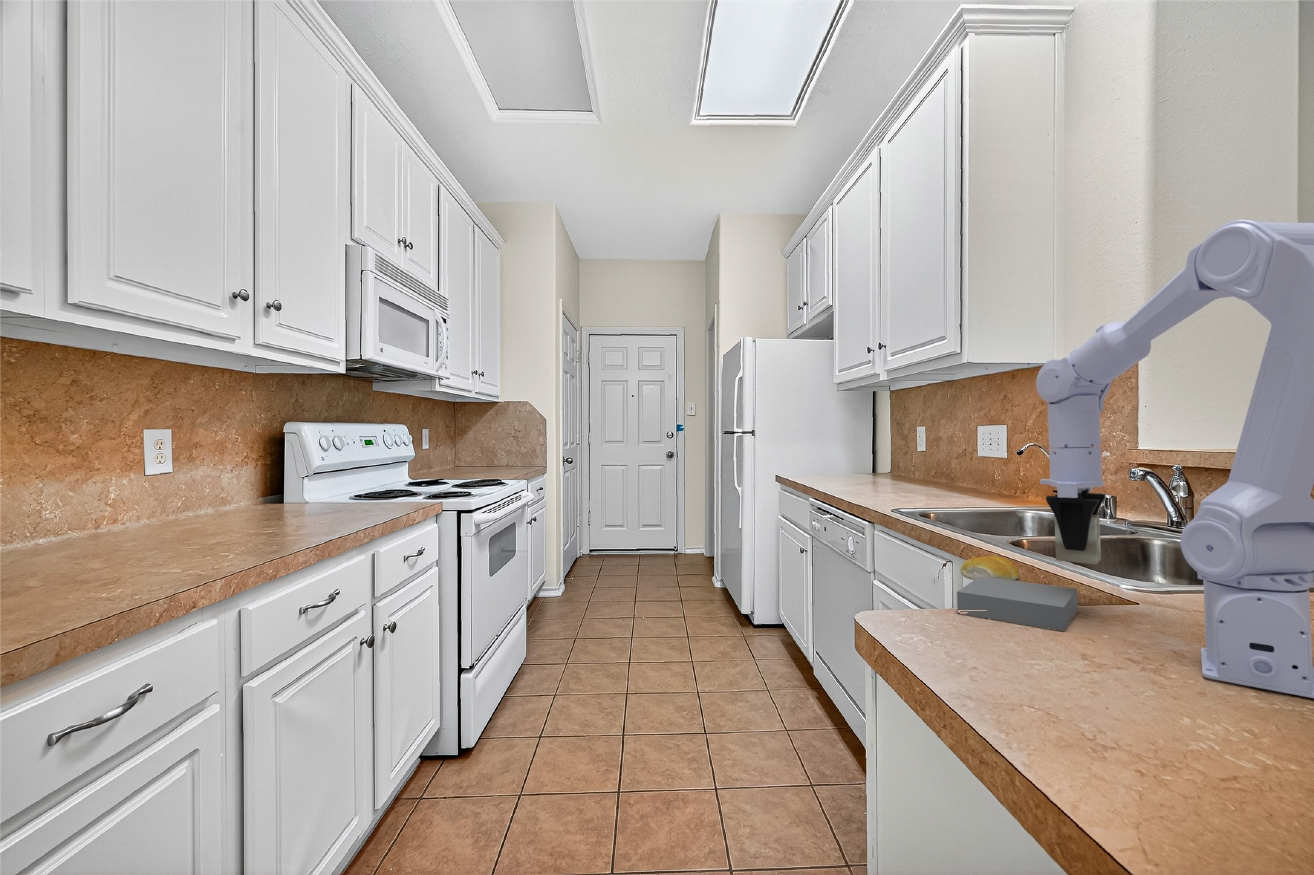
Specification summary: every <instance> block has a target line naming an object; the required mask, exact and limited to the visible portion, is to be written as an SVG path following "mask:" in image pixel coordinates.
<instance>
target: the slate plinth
mask: <svg viewBox="0 0 1314 875" xmlns="http://www.w3.org/2000/svg"><path fill="white" fill-rule="evenodd" d="M1078 596H1079V595H1078V588H1077V587H1076V588H1075V587H1067V586H1066V587H1065V586H1058V585H1051V584H1050V585H1049V584H1044V583H1043V584H1042V583H1035V582H1026V581H1020V580H1019V581H1018V580H1004V579H996V578H988V577H979V578H977V579H975V580H972V581H971V582H970V583H968V584H966V585H965V586H964V587H962V588H960V589H959V590H957V591H956V606H957V608H956V609H957V611H958V610H987V611H960V612H968V613H966V614H964V615H963V616H968V615H969V616H970V617H975V618H980V617H982V618H981V619H986V618H990V619H989V620H992V619H995V620H994V621H998V620H1002V621H1001V622H1004V621H1006V622H1005V623H1009V622H1013V623H1012V624H1015V623H1018V624H1017V625H1021V624H1022V625H1021V626H1027V625H1028V627H1033V626H1036V627H1035V628H1039V627H1041V628H1040V629H1045V628H1049V629H1048V630H1050V629H1056V630H1059V631H1058V632H1062V631H1065V630H1066V631H1067V629H1068V627H1069V626H1070V624H1071V623H1070V622H1072V621H1073V619H1074V618H1075V616H1076V615H1077V613H1078V611H1079V601H1078V600H1079V599H1078V598H1079V597H1078ZM1077 610H1078V611H1077ZM1075 614H1076V615H1075ZM1074 615H1075V616H1074ZM1073 617H1074V618H1073ZM1072 618H1073V619H1072ZM1071 620H1072V621H1071ZM1069 623H1070V624H1069ZM1068 625H1069V626H1068ZM1067 626H1068V627H1067ZM1066 628H1067V629H1066ZM1056 630H1055V631H1056ZM1066 631H1065V632H1066Z"/></svg>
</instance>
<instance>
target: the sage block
mask: <svg viewBox="0 0 1314 875" xmlns="http://www.w3.org/2000/svg"><path fill="white" fill-rule="evenodd" d="M1100 525H1101V524H1100V515H1099V514H1097V515H1092V518H1091V521H1090V526H1089V533H1088V540H1087V545H1086V548H1085V550H1084V551H1078V550H1067V549H1065V547H1064V544H1063V541H1062V538H1061V534H1060V530H1059V526H1058V523H1057V520H1056V517H1055V516H1054V539H1055V540H1054V541H1055V542H1054V543H1055V561H1059V562H1068V563H1069V562H1070V563H1077V564H1088V565H1098V564H1099V562H1100V561H1101V560H1102V554H1101V553H1102V551H1101V549H1102V548H1101V526H1100Z"/></svg>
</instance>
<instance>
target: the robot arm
mask: <svg viewBox="0 0 1314 875" xmlns="http://www.w3.org/2000/svg"><path fill="white" fill-rule="evenodd" d="M1231 297H1232V298H1233V297H1234V298H1236V299H1237V300H1238V299H1239V300H1241V301H1243V302H1246V303H1248V304H1249V305H1251V307H1252V308H1253V309H1255V310H1256V311H1257V312H1258V313H1259V314H1261V316H1263V317H1264V318H1265V319H1266V320H1267V321H1268V322H1269V323H1270V324H1271V325H1270V331H1269V334H1268V337H1267V341H1266V345H1265V348H1264V351H1263V356H1262V359H1261V362H1260V366H1259V370H1258V373H1257V376H1256V379H1255V384H1254V387H1253V391H1252V394H1251V398H1250V402H1249V405H1248V408H1247V412H1246V415H1245V419H1244V423H1243V427H1242V430H1241V433H1240V438H1239V440H1238V443H1237V448H1236V451H1235V455H1234V458H1233V461H1232V465H1231V468H1230V472H1229V477H1228V479H1227V482H1226V483H1224V484H1223V485H1221V486H1220V487H1219V488H1217V489H1215V490H1214V491H1213V492H1211V493H1210V494H1208V496H1206V497H1205V498H1203V499H1202V500H1201V501H1200V503H1199V507H1198V510H1197V512H1196V514H1195V516H1194V517H1193V519H1191V521H1189V522H1188V523H1187V524H1186V525H1185V527H1184V528H1183V529H1182V532H1181V534H1180V535H1181V536H1180V548H1181V552H1182V555H1183V558H1184V559H1185V560H1186V563H1187V564H1188V565H1189V566H1190V567H1191V568H1192V569H1193V570H1194V571H1195V572H1196V573H1197V579H1198V580H1203V601H1204V602H1203V603H1204V622H1205V623H1204V624H1205V625H1204V626H1205V627H1204V628H1205V647H1201V648H1200V659H1201V661H1200V662H1201V670H1202V677H1204V678H1206V679H1209V680H1216V681H1221V682H1227V683H1231V684H1237V685H1242V686H1247V687H1252V688H1257V689H1263V690H1269V691H1273V692H1278V693H1284V694H1290V695H1295V696H1299V697H1304V698H1305V697H1306V698H1311V699H1314V665H1313V664H1314V661H1313V642H1312V621H1311V620H1312V619H1311V618H1312V616H1311V601H1310V600H1311V598H1310V597H1311V596H1310V595H1311V594H1310V587H1312V586H1313V587H1314V498H1313V497H1312V496H1311V493H1312V491H1313V488H1314V221H1313V222H1282V221H1281V222H1280V221H1279V222H1278V221H1275V222H1274V221H1273V222H1272V221H1257V220H1253V219H1239V220H1233V221H1230V222H1228V223H1224V224H1223V225H1221V226H1219V227H1218V228H1216V229H1214V231H1212V232H1211V233H1210V234H1209V235H1208V236H1207V237H1206V238H1205V239H1204V241H1203V242H1201V243H1199V244H1198V245H1197V246H1195V247H1193V248H1192V249H1191V250H1189V252H1188V254H1187V258H1186V264H1185V266H1184V267H1183V268H1181V270H1180V271H1179V272H1178V273H1177V274H1175V276H1174V277H1172V278H1171V279H1170V280H1169V281H1168V282H1167V283H1166V284H1165V285H1164V286H1163V287H1161V288H1160V290H1158V291H1157V292H1156V293H1155V294H1154V295H1153V296H1152V297H1151V298H1150V299H1148V300H1147V302H1145V303H1144V304H1143V305H1142V306H1141V307H1140V308H1139V309H1138V310H1137V311H1136V312H1134V313H1133V315H1131V316H1130V317H1129V318H1128V319H1127V320H1126V321H1113V322H1110V323H1107V324H1106V323H1105V324H1101V325H1100V326H1099V327H1097V328H1096V329H1095V332H1096V333H1095V334H1093V335H1092V336H1091V337H1090V338H1088V340H1086V341H1085V342H1083V343H1082V344H1081V345H1080V346H1079V347H1078V348H1075V349H1074V350H1072V351H1071V352H1070V354H1069V355H1068V356H1067V357H1066V356H1065V357H1062V358H1061V359H1051V360H1047V361H1046V362H1045V363H1044V365H1043V366H1042V367H1041V368H1040V370H1039V371H1038V374H1037V376H1036V378H1035V379H1036V381H1035V386H1036V391H1037V394H1038V395H1039V397H1040V398H1041V399H1042V400H1043V401H1045V402H1046V403H1047V404H1046V405H1047V424H1048V425H1047V427H1048V430H1047V431H1048V455H1049V457H1048V460H1049V478H1040V479H1039V484H1040V485H1048V486H1050V487H1054V488H1057V493H1056V494H1054V495H1046V496H1045V501H1046V503H1047V505H1048V506H1049V507H1050V509H1051V511H1052V513H1053V515H1054V518H1055V517H1056V520H1057V523H1058V526H1059V530H1060V534H1061V538H1062V541H1063V544H1064V547H1065V549H1067V550H1078V551H1084V550H1085V548H1086V545H1087V540H1088V533H1089V526H1090V521H1091V518H1092V515H1098V513H1099V511H1100V508H1101V506H1102V504H1103V502H1104V501H1105V499H1106V498H1107V497H1106V494H1105V493H1094V492H1093V488H1101V487H1102V488H1103V487H1104V486H1105V481H1104V480H1103V471H1102V470H1103V469H1102V446H1101V442H1102V441H1101V422H1100V421H1101V420H1100V419H1101V417H1100V415H1101V413H1102V412H1103V410H1104V409H1105V408H1104V406H1105V404H1104V402H1105V398H1106V396H1107V395H1108V393H1109V391H1110V389H1111V384H1112V381H1114V380H1116V379H1117V378H1118V377H1120V376H1122V374H1124V373H1125V372H1127V371H1128V370H1129V369H1131V368H1132V367H1134V366H1135V365H1136V364H1138V363H1139V362H1141V361H1142V360H1143V359H1145V358H1147V357H1148V356H1149V354H1150V352H1151V349H1152V341H1153V340H1155V339H1156V338H1157V337H1159V336H1161V335H1162V334H1164V333H1166V332H1167V331H1168V330H1170V329H1172V328H1173V327H1175V326H1176V325H1178V324H1179V323H1181V322H1182V321H1184V320H1185V319H1187V318H1189V317H1191V316H1192V315H1194V314H1195V313H1196V312H1198V311H1200V309H1203V308H1205V307H1206V306H1208V305H1209V304H1210V303H1212V302H1214V301H1215V300H1219V299H1223V298H1224V299H1225V298H1231Z"/></svg>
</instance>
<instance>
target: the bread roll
mask: <svg viewBox="0 0 1314 875" xmlns="http://www.w3.org/2000/svg"><path fill="white" fill-rule="evenodd" d="M960 574H961V576H962V577H963V578H965V579H969V580H972V581H974V580H975V579H977V578H979V577H988V578H996V579H1004V580H1012V581H1017V579H1019V577H1020V570H1019V569H1018V567H1017V565H1016V564H1014V563H1013V562H1012V561H1011V560H1009V559H1007V558H1005V557H1002V556H997V555H990V556H978V557H972V558H969V559H966V560H965V561H964V562H962V564H961V566H960Z"/></svg>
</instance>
